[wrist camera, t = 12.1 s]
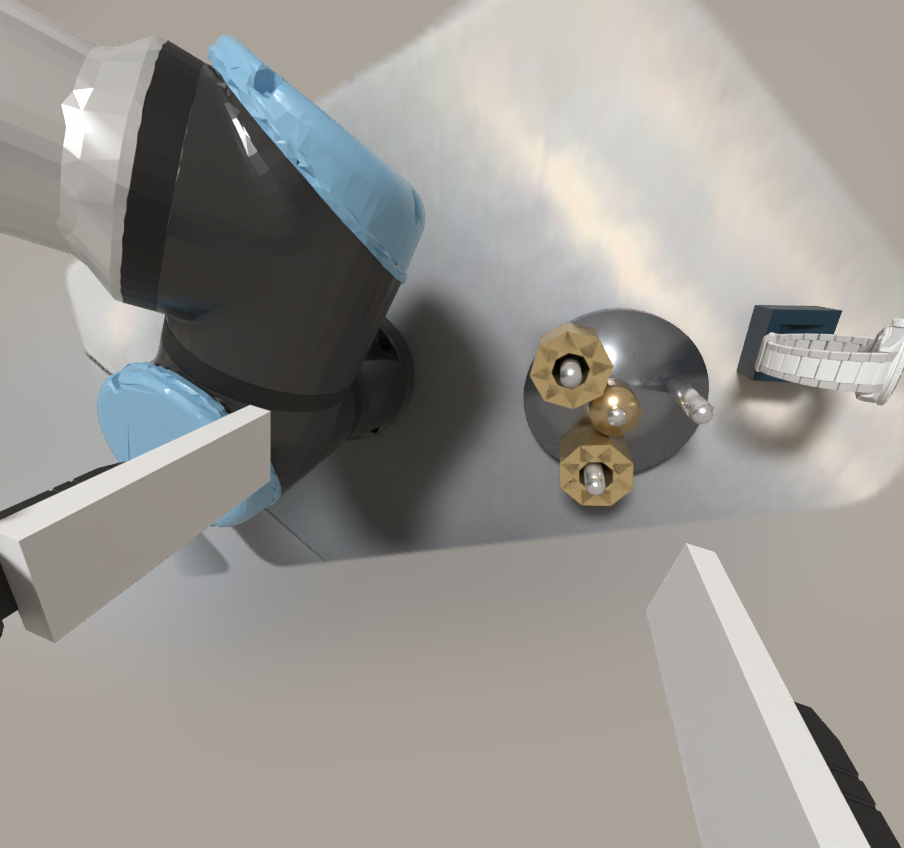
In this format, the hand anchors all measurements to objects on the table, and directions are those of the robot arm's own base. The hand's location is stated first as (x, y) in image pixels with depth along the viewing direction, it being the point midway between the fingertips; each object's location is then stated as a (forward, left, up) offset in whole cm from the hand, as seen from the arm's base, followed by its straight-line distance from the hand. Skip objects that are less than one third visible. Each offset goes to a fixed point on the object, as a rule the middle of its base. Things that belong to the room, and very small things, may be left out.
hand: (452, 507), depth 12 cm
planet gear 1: (+4, 0, -27) cm, 28 cm away
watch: (+20, +5, -29) cm, 35 cm away
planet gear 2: (+9, -9, -27) cm, 30 cm away
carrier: (+9, -3, -29) cm, 30 cm away
